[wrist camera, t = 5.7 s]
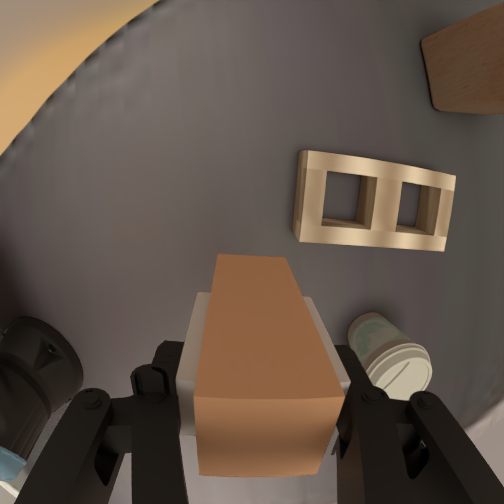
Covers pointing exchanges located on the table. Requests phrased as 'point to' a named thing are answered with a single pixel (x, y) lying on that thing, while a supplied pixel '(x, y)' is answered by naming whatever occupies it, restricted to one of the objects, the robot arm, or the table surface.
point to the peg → (262, 375)
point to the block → (468, 64)
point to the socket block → (372, 203)
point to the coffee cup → (389, 356)
